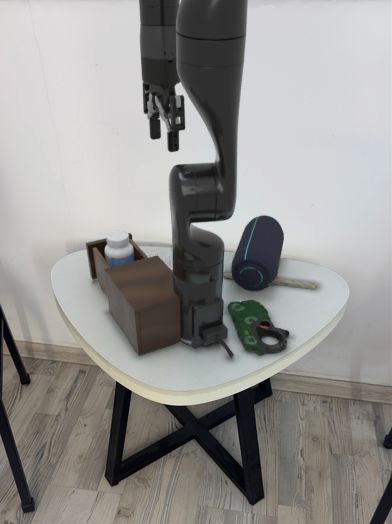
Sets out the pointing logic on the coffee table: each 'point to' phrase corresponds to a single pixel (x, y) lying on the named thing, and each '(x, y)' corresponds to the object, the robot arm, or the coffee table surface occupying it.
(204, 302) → the robot arm
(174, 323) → the cabinet
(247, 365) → the coffee table surface
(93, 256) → the drawer
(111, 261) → the pill bottle
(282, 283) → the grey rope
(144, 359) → the coffee table surface
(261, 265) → the portable speaker
